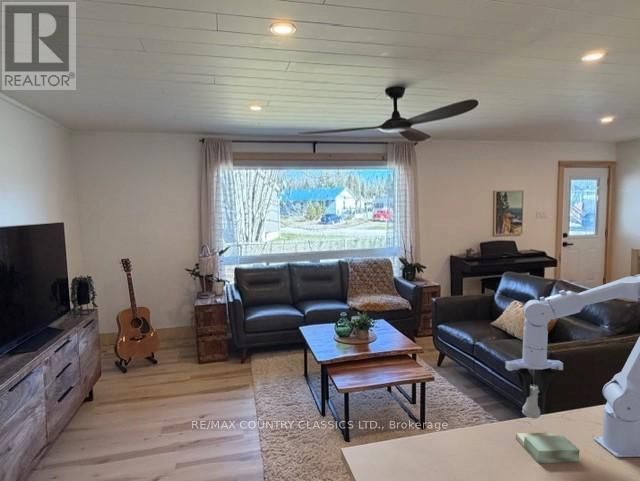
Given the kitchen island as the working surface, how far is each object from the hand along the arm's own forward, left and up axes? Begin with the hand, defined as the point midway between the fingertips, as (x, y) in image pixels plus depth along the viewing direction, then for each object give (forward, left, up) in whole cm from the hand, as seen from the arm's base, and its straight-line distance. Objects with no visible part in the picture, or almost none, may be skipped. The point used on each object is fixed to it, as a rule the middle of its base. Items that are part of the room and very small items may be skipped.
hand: (532, 395), depth 108 cm
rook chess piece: (0, 0, -6) cm, 6 cm away
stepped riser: (+1, +8, -10) cm, 13 cm away
